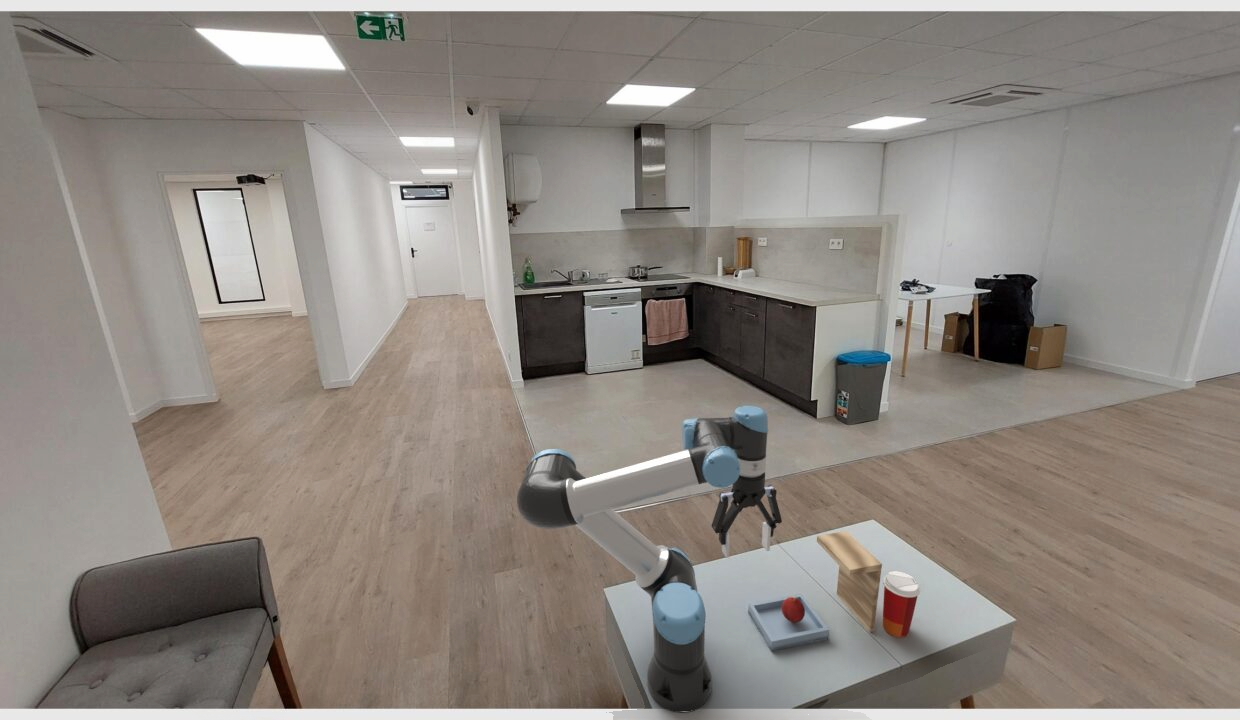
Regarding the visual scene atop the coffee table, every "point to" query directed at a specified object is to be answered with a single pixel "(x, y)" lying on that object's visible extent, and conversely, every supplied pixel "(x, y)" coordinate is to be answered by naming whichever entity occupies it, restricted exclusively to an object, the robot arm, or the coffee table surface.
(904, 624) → the coffee cup
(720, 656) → the coffee table surface
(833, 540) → the wooden l-shaped bracket
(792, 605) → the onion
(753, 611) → the tray
